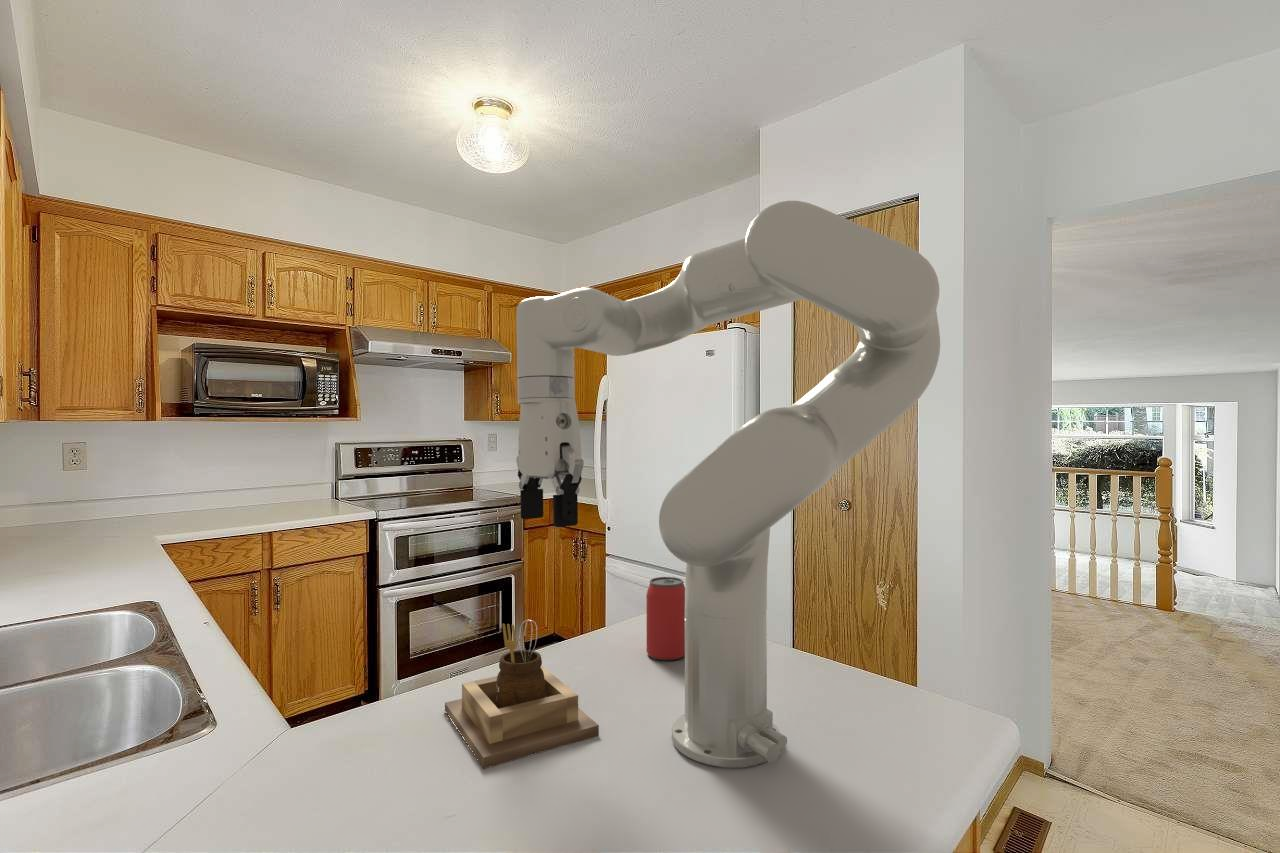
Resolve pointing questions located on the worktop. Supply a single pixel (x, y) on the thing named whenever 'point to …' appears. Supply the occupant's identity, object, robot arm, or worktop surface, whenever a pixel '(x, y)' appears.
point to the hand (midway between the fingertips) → (548, 521)
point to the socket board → (518, 721)
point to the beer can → (666, 618)
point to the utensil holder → (519, 673)
